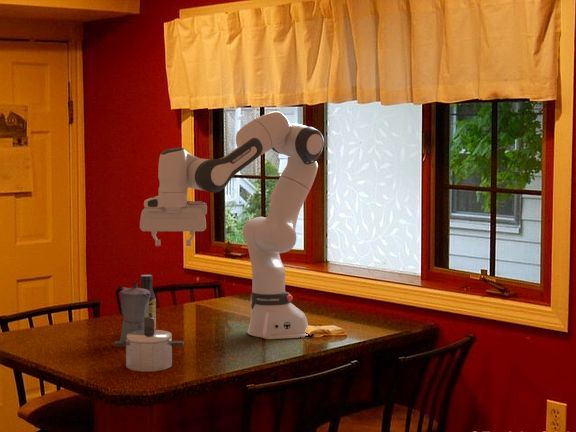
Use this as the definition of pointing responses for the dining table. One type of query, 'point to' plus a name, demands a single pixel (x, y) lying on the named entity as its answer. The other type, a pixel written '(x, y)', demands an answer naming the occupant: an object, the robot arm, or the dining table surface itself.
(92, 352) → the dining table surface
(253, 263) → the robot arm
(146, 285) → the sauce bottle
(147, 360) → the pot
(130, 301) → the moka pot
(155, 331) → the lid
